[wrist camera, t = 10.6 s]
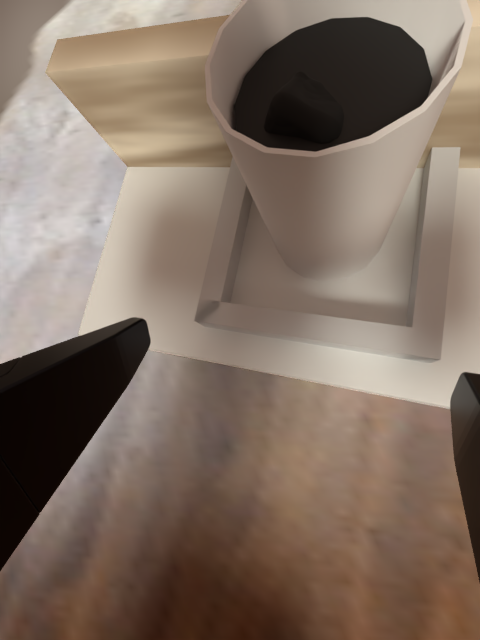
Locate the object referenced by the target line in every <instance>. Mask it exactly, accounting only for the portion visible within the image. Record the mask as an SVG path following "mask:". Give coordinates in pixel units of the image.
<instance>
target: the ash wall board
mask: <svg viewBox="0 0 480 640" xmlns="http://www.w3.org/2000/svg"><path fill="white" fill-rule="evenodd" d="M467 3H468V6H469V9H470V12H471V15H472V18H473V23H472V27H471V31H470V35H469V39H468V43H467V47H466V51H465V55H464V59H463V63H462V67H461V69H460V71H459V73H458V76H457V78H456V80H455V82H454V85H453V87H452V89H451V91H450V94H449V96H448V98H447V100H446V103H445V105H444V107H443V109H442V112H441V114H440V116H439V118H438V121H437V123H436V125H435V127H434V130H433V132H432V134H431V136H430V139H429V141H428V143H427V145H426V148H425V150H424V152H423V154H422V157H421V159H420V161H419V163H418V166H417V168H424V167H425V164H426V162H427V159H428V157H429V154H430V152H431V149H432V147H460V158H459V168H480V0H467ZM229 16H230V15H226V16H219V17H212V18H205V19H198V20H191V21H184V22H177V23H170V24H163V25H156V26H149V27H142V28H135V29H128V30H121V31H114V32H107V33H100V34H93V35H86V36H79V37H72V38H65V39H58V40H57V42H56V45H55V48H54V50H53V53H52V56H51V58H50V61H49V64H48V67H47V69H46V72H45V73H46V74H47V75H48V76H49V77H50V78H51V80H52V81H53V82H54V83H55V84H56V85H57V86H58V88H59V89H60V90H61V91H62V92H63V93H64V94H65V96H66V97H67V98H68V99H69V100H70V101H71V103H72V104H73V105H74V106H75V107H76V108H77V109H78V111H79V112H80V113H81V114H82V115H83V116H84V117H85V119H86V120H87V121H88V122H89V123H90V124H91V125H92V127H93V128H94V129H95V130H96V131H97V132H98V133H99V135H100V136H101V137H102V138H103V139H104V140H105V141H106V143H107V144H108V145H109V146H110V147H111V148H112V149H113V151H114V152H115V153H116V154H117V155H118V156H119V157H120V159H121V160H122V161H123V162H124V163H125V164H126V165H127V167H230V165H231V161H232V157H233V156H232V154H231V152H230V149H229V147H228V145H227V143H226V141H225V139H224V137H223V135H222V133H221V131H220V128H219V126H218V124H217V122H216V120H215V118H214V116H213V114H212V112H211V110H210V107H209V105H208V103H207V98H206V80H205V63H206V61H207V58H208V56H209V53H210V50H211V48H212V45H213V43H214V40H215V37H216V35H217V32H218V30H219V28H220V27H221V25H222V24H223V23H224V22H225V21H226V19H227V18H228V17H229Z"/></svg>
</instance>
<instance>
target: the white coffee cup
mask: <svg viewBox="0 0 480 640" xmlns="http://www.w3.org/2000/svg"><path fill="white" fill-rule="evenodd" d="M472 23H473V18H472V15H471V12H470V9H469V6H468V3H467V0H242V1H241V2H240V4H239V5H238V6H237V7H236V9H235V10H234V11H233V12H232V13H231V15H230V16H229V17H228V18H227V19H226V21H225V22H224V23H223V24H222V25H221V27H220V28H219V30H218V32H217V35H216V37H215V40H214V43H213V45H212V48H211V50H210V53H209V56H208V58H207V61H206V63H205V80H206V98H207V103H208V105H209V107H210V110H211V112H212V114H213V116H214V118H215V120H216V122H217V124H218V126H219V128H220V131H221V133H222V135H223V137H224V139H225V141H226V143H227V145H228V147H229V149H230V152H231V154H232V156H233V158H234V160H235V162H236V164H237V166H238V168H239V170H240V173H241V175H242V177H243V179H244V181H245V183H246V185H247V187H248V189H249V191H250V193H251V196H252V198H253V200H254V202H255V204H256V206H257V208H258V210H259V212H260V214H261V217H262V219H263V221H264V223H265V225H266V227H267V229H268V231H269V233H270V235H271V238H272V240H273V242H274V244H275V246H276V248H277V250H278V252H279V254H280V255H281V257H282V259H283V260H284V262H285V264H286V265H287V266H288V267H289V268H291V269H292V270H294V271H295V272H296V273H298V274H299V275H301V276H302V277H305V278H310V279H314V280H319V281H324V282H325V281H331V280H338V279H344V278H348V277H350V276H351V275H353V274H355V273H357V272H358V271H360V270H362V269H364V268H366V267H367V266H368V264H369V263H370V262H371V261H372V259H373V258H374V257H375V256H376V255H377V253H378V252H379V251H380V249H381V247H382V244H383V242H384V240H385V238H386V235H387V233H388V231H389V229H390V226H391V224H392V222H393V220H394V217H395V215H396V213H397V211H398V208H399V206H400V204H401V202H402V199H403V197H404V195H405V193H406V190H407V188H408V186H409V184H410V181H411V179H412V177H413V175H414V172H415V170H416V168H417V166H418V163H419V161H420V159H421V157H422V154H423V152H424V150H425V148H426V145H427V143H428V141H429V139H430V136H431V134H432V132H433V130H434V127H435V125H436V123H437V121H438V118H439V116H440V114H441V112H442V109H443V107H444V105H445V103H446V100H447V98H448V96H449V94H450V91H451V89H452V87H453V85H454V82H455V80H456V78H457V76H458V73H459V71H460V69H461V67H462V63H463V59H464V55H465V51H466V47H467V43H468V39H469V35H470V31H471V27H472Z"/></svg>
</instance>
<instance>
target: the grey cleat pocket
mask: <svg viewBox="0 0 480 640" xmlns="http://www.w3.org/2000/svg"><path fill="white" fill-rule="evenodd" d="M459 158H460V147H432V149H431V152H430V154H429V157H428V159H427V162H426V164H425V167H424V168H416V170H415V172H414V175H413V177H412V179H411V181H410V184H409V186H408V188H407V190H406V193H405V195H404V197H403V199H402V202H401V204H400V206H399V208H398V211H397V213H396V215H395V217H394V220H393V222H392V224H391V226H390V229H389V231H388V233H387V235H386V238H385V240H384V242H383V244H382V247H381V249H380V251H379V252H378V253H377V255H376V256H375V257H374V258H373V259H372V261H371V262H370V263H369V264H368V266H367V267H366V268H364V269H362V270H360V271H358V272H357V273H355V274H353V275H351V276H350V277H348V278H344V279H338V280H331V281H325V282H324V281H319V280H314V279H310V278H305V277H302V276H301V275H299V274H298V273H296V272H295V271H294V270H292V269H291V268H289V267H288V266H287V265H286V264H285V262H284V260H283V259H282V257H281V255H280V254H279V252H278V250H277V248H276V246H275V244H274V242H273V240H272V238H271V235H270V233H269V231H268V229H267V227H266V225H265V223H264V221H263V219H262V217H261V214H260V212H259V210H258V208H257V206H256V204H255V202H254V200H253V198H252V196H251V193H250V191H249V189H248V187H247V185H246V183H245V181H244V179H243V177H242V175H241V173H240V170H239V168H238V166H237V164H236V162H235V160H234V158H233V157H232V161H231V165H230V167H128V168H127V171H126V174H125V178H124V181H123V184H122V188H121V191H120V194H119V198H118V201H117V205H116V208H115V211H114V215H113V218H112V221H111V225H110V228H109V231H108V235H107V238H106V242H105V245H104V248H103V252H102V255H101V258H100V262H99V265H98V269H97V272H96V275H95V279H94V282H93V285H92V289H91V292H90V295H89V299H88V302H87V306H86V309H85V312H84V316H83V319H82V322H81V326H80V329H79V332H78V335H80V336H81V335H84V334H87V333H89V332H92V331H95V330H98V329H101V328H103V327H106V326H109V325H112V324H115V323H117V322H120V321H123V320H126V319H129V318H132V317H137V318H143V319H145V320H146V322H147V325H148V330H149V334H150V339H151V343H150V347H149V349H148V350H151V351H156V352H161V353H166V354H171V355H176V356H181V357H187V358H192V359H197V360H202V361H207V362H212V363H217V364H222V365H227V366H232V367H238V368H243V369H248V370H253V371H258V372H263V373H268V374H273V375H278V376H284V377H289V378H294V379H299V380H304V381H309V382H314V383H319V384H324V385H330V386H335V387H340V388H345V389H350V390H355V391H360V392H365V393H370V394H375V395H381V396H386V397H391V398H396V399H401V400H406V401H411V402H416V403H421V404H427V405H432V406H437V407H442V408H447V409H450V400H451V395H452V393H453V391H454V388H455V386H456V383H457V381H458V379H459V376H460V375H461V374H462V373H463V372H470V373H476V374H480V168H459Z"/></svg>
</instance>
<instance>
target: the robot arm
mask: <svg viewBox="0 0 480 640" xmlns="http://www.w3.org/2000/svg"><path fill="white" fill-rule="evenodd" d="M150 343H151V339H150V334H149V330H148V325H147V322H146V320H145V319H143V318H137V317H132V318H129V319H126V320H123V321H120V322H117V323H115V324H112V325H109V326H106V327H103V328H101V329H98V330H95V331H92V332H89V333H87V334H84V335H81V336H78V337H75V338H72V339H70V340H67V341H64V342H61V343H58V344H56V345H53V346H50V347H47V348H44V349H41V350H39V351H36V352H33V353H30V354H27V355H25V356H22V357H21V358H20V357H19V358H16V359H13V360H10V361H8V362H5V363H2V364H0V571H1V569H2V568H3V566H4V565H5V564H6V562H7V561H8V559H9V558H10V556H11V555H12V553H13V552H14V550H15V549H16V548H17V546H18V545H19V543H20V542H21V540H22V539H23V537H24V536H25V534H26V533H27V532H28V530H29V529H30V527H31V526H32V524H33V523H34V521H35V520H36V519H37V517H38V516H39V513H40V512H41V511H42V509H43V508H44V507H45V505H46V504H47V502H48V501H49V499H50V498H51V496H52V495H53V494H54V492H55V491H56V489H57V488H58V486H59V485H60V483H61V482H62V480H63V479H64V478H65V476H66V475H67V473H68V472H69V470H70V469H71V467H72V466H73V465H74V463H75V462H76V460H77V459H78V457H79V456H80V454H81V453H82V451H83V450H84V449H85V447H86V446H87V444H88V443H89V441H90V440H91V438H92V437H93V436H94V434H95V433H96V431H97V430H98V428H99V427H100V425H101V424H102V422H103V421H104V420H105V418H106V417H107V415H108V414H109V412H110V411H111V409H112V408H113V407H114V405H115V404H116V402H117V401H118V399H119V398H120V396H121V395H122V393H123V392H124V391H125V389H126V388H127V386H128V385H129V383H130V381H131V379H132V378H133V376H134V374H135V372H136V370H137V369H138V367H139V365H140V363H141V361H142V360H143V358H144V356H145V354H146V352H147V350H148V349H149V347H150ZM450 410H451V423H452V437H453V451H454V461H455V466H456V472H457V476H458V481H459V486H460V491H461V496H462V500H463V505H464V510H465V515H466V520H467V524H468V529H469V534H470V539H471V543H472V548H473V553H474V558H475V563H476V567H477V572H478V577H479V582H480V374H476V373H470V372H463V373H462V374H461V375H460V376H459V379H458V381H457V383H456V386H455V388H454V391H453V393H452V395H451V400H450Z"/></svg>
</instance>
